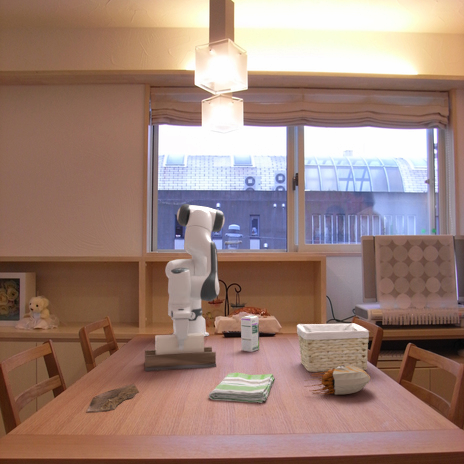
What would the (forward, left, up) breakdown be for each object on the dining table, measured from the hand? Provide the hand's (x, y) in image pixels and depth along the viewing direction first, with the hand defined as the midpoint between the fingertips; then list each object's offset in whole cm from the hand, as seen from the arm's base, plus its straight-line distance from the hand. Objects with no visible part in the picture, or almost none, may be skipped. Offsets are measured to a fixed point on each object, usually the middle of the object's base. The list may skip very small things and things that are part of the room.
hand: (179, 347), depth 164 cm
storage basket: (+16, +55, -7) cm, 58 cm away
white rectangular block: (0, 0, -6) cm, 6 cm away
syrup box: (-17, +32, -7) cm, 37 cm away
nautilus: (+42, +44, -7) cm, 61 cm away
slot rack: (0, 0, -7) cm, 7 cm away
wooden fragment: (+32, -22, -7) cm, 39 cm away
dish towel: (+33, +17, -7) cm, 38 cm away
